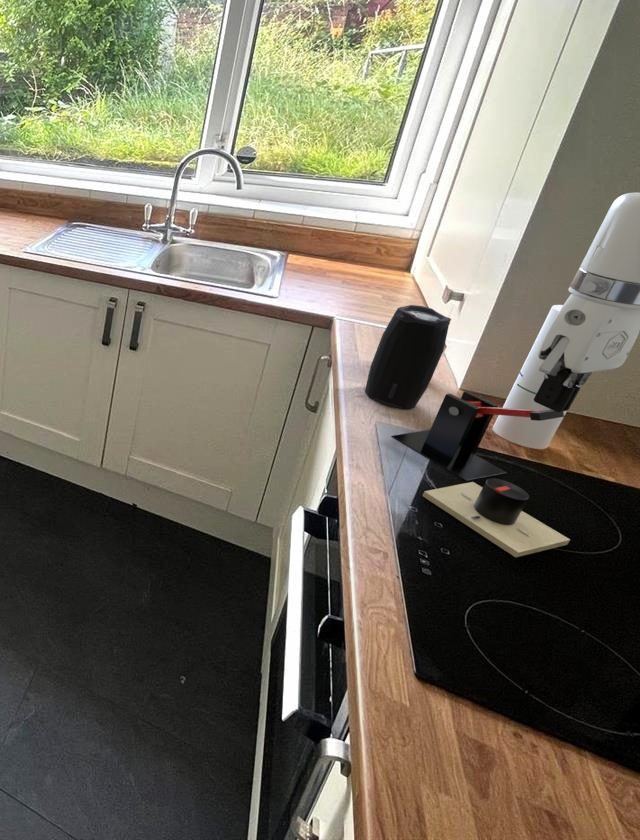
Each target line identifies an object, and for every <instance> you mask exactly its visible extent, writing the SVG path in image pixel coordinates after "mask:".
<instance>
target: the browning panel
mask: <svg viewBox="0 0 640 840" xmlns="http://www.w3.org/2000/svg"><path fill="white" fill-rule="evenodd" d="M482 488H483V486H481V485H479V484H477V483H476V482H474V481H468V482H465V483H459V484H454V485H449V486H444V487H439V488H434V489H429V490H424V492H423V494H422V498H425V499H426V500H428V501H429V502H430V503H432V504H434V505H435V506H436V507H438V508H440V509H442V510H443V511H444V512H446V513H448V514H449V515H451V516H452V517H453V518H455V519H456V520H458V521H460V522H461V523H462V524H464V525H465V526H467V527H469V528H470V529H472V530H473V531H475V532H476V533H478V534H479V535H481V536H482V537H483V538H486V539H487V540H488V541H490V542H491V543H493V544H494V545H496V546H497V547H499V548H500V549H502V550H504V552H506V553H508V554H510V555H511V556H512V557H513V558H519V557H523V556H527V555H528V556H529V555H532V554H535V553H540V552H543V551H547V550H552V549H556V548H559V547H563V546H567V545H568V544H569V543H570V541H571V539H570V538H569V537H567V536H565V535H564V534H562V533H560V532H558V531H557V530H555V529H553V528H552V527H550V526H548V525H546V524H545V523H543V522H541V521H540V520H538V519H536V518H535V517H533V516H532V515H530V514H528V513H526V512H525V511H523V510H522V511H521V513H520V515H519V517H518V518H517V520H516V522H515V524H513V525H504V524H499V523H496V522H494V521H491V520H489V519H487V518H485V517H484V516H482V515H481V514H479V513H478V512H477V511H476V510H475V508H474V504H475V502H476V500H477V498H478V496H479V494H480V492H481V490H482Z"/></svg>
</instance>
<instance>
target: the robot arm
mask: <svg viewBox="0 0 640 840" xmlns="http://www.w3.org/2000/svg"><path fill="white" fill-rule="evenodd" d="M592 240H593V241H592V243H591V244H590V246H589V248H588V251H587V253H586V254H585V256H584V258H583V260H582V262H581V264H580V266H579V268H578V270H577V271H576V274H575V276H574V277H573V280H572V281H571V283H570V285H569V287H568V292H569V293H570V295H569V296H568V298H567V299H566V301H565V302H564V303H563V304H562V305H563V306H562V308H561V309H560V311H559V312H558V314H557V316H556V317H555V319H554V320H553V322H552V324H551V325H550V327H549V329H548V331H547V332H546V334H545V336H544V338H543V340H542V342H541V344H540V346H539V349H538V352H537V356H538V357H539V359H541V360H545V361H544V362H543V364H542V365H541V367H540V368H539V371H541V372H543V373H545V375H544V378H545V379H544V380H543V382H542V384H541V386H540V388H539V390H538V392H537V394H536V396H535V398H534V401H535V402H536V403H538V404H540V405H543V406H545V407H547V408H549V409H552V410H554V411H556V412H562V411H567V412H568V411H569V409H571V406H572V405H573V403H574V401H575V399H576V397H577V395H578V394H579V392H580V390H581V387H582V386H584V385H585V384H586V382H587V381H588V379H589V378H590V376H591V375H592V374H593V373H595V372H603V371H611V370H615V369H618V368H621V367H622V366H623V365H624V364H625V362H626V360H627V358H628V356H629V355H630V352H631V350H632V349H633V347H634V344H635V342H636V341H637V338H638V337H639V334H640V192H627V193H624V194H622V195H620V196H618V197H616V199H614V201H613V202H612V204H611V205H610V207H609V208H608V211H607V213H606V215H605V217H604V219H603V221H602V223H601V225H600V227H599V228H598V231H597V233H596V234H595V237H594V238H593V239H592ZM576 385H577V386H576ZM578 386H580V387H578Z"/></svg>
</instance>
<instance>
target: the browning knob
mask: <svg viewBox="0 0 640 840" xmlns="http://www.w3.org/2000/svg"><path fill="white" fill-rule="evenodd" d="M482 487H483V488H482V490H481V492H480V494H479V496H478V498H477V500H476V502H475V504H474V508H475V510H476V511H477V512H478V513H479V514H481V515H482V516H484V517H485V518H487V519H489V520H491V521H494V522H496V523H499V524H504V525H513V524H515V522H516V520H517V518H518V517H519V515H520V513H521V511H523V509H524V507H525V505H526V504H527V502H528V500H529V498H530V495H529V494H528V492H527V491H525V490H524V489H523V488H521V487H520V486H518V485H516V484H514V483H512V482H510V481H506V480H504V479H500V478H487V479H486V481H485V482H484V484H483V486H482Z"/></svg>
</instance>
